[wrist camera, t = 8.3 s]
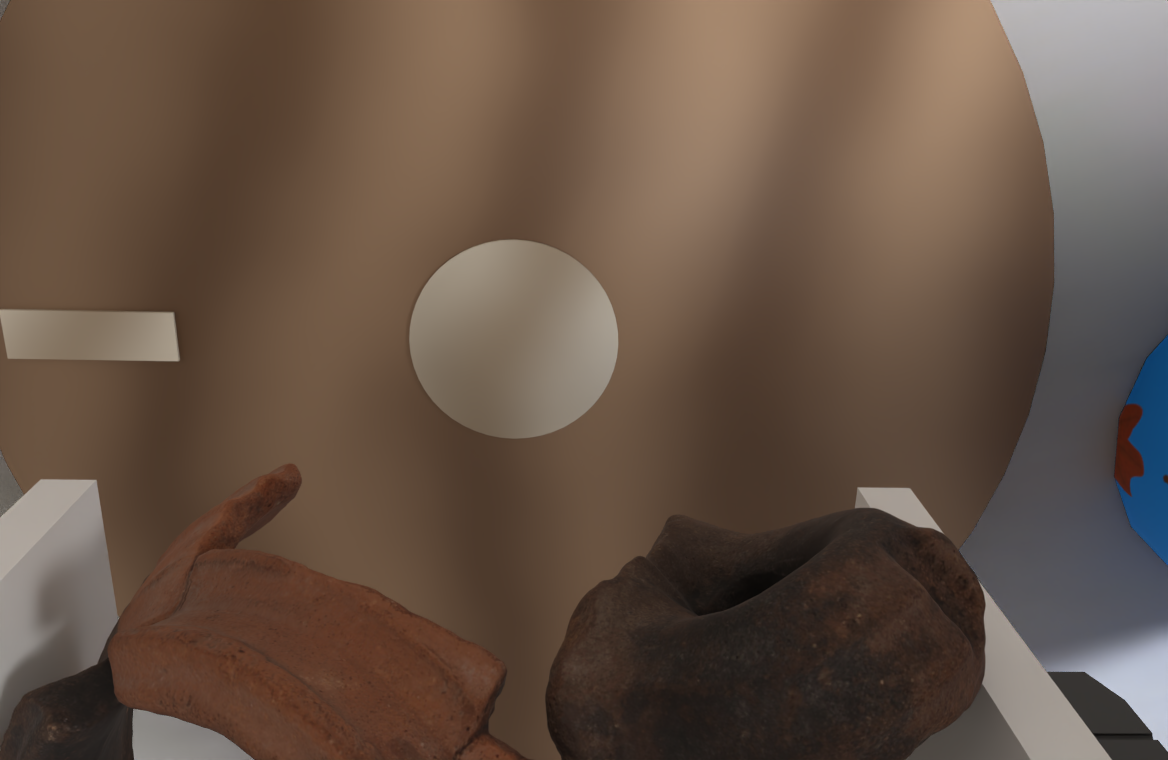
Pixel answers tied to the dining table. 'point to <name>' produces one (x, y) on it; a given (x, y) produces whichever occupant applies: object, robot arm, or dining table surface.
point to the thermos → (1146, 453)
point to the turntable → (514, 280)
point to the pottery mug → (579, 671)
